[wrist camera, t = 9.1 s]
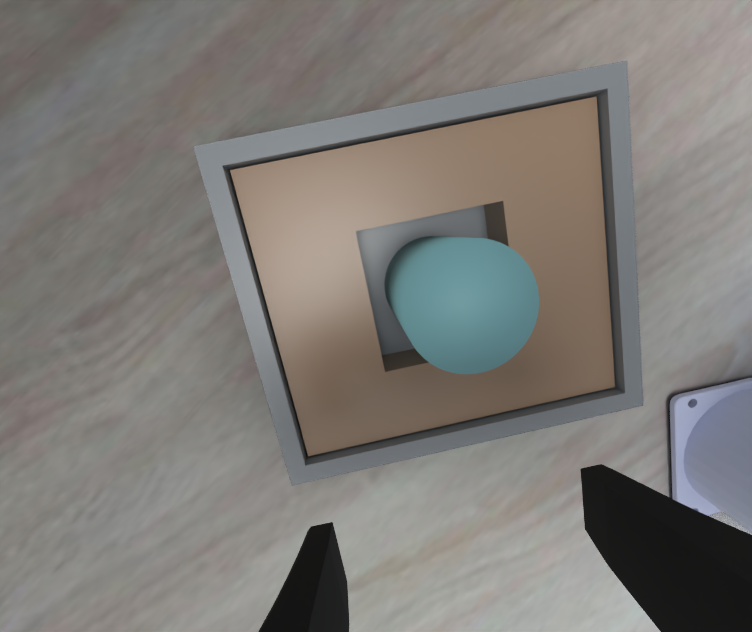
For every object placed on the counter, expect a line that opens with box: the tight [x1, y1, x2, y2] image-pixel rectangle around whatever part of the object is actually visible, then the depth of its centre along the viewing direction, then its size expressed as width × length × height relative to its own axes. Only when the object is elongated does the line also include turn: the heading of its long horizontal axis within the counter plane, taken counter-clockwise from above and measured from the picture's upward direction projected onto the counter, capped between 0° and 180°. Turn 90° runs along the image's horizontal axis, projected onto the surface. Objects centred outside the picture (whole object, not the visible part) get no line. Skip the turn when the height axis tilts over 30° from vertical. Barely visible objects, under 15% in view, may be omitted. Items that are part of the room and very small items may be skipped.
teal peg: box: [384, 236, 539, 374], centre depth 15 cm, size 4×4×6 cm
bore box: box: [193, 61, 643, 486], centre depth 17 cm, size 16×14×4 cm
